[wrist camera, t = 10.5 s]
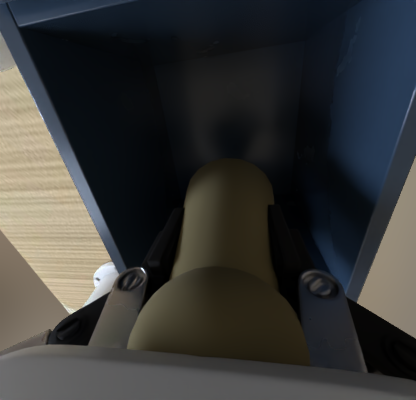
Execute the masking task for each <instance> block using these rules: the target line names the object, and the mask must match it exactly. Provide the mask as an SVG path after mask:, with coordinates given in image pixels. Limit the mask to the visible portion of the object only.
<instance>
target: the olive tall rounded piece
mask: <svg viewBox="0 0 416 400" xmlns="http://www.w3.org/2000/svg"><path fill="white" fill-rule="evenodd" d="M268 205H274V196H273V189H272V185H271V183H270V181H269V179H268V178H267V176H266V174H265V173H264V172H263V171H261V170H260V169H259V168H258V167H257V166H255V165H254V164H252V163H249V162H246V161H244V160H241V159H232V158H223V159H219V160H215V161H211V162H209V163H207V164H206V165H204V166H203V167H201V168H199V169H198V170H197V172H196V173H195V174H194V175H193V177H192V178H191V179H190V182H189V185H188V188H187V191H186V196H185V201H184V206H183V208H185V209H184V215H183V220H182V225H181V230H180V234H179V239H178V243H177V247H176V252H175V256H174V261H173V265H172V269H171V274H170V277H169V282H167V283H165V284H164V285H163V286H162V287H161V288H160V289H159V290H157V291H156V292H155V293H154V294H153V295H152V296H151V298H150V299H149V301H148V302H147V303H146V305H145V306H144V307H143V309H142V310H141V311H140V313H139V316H138V318H137V320H136V322H135V324H134V327H133V329H132V331H131V333H130V336H129V341H128V345H127V349H131V350H142V351H154V352H165V353H176V354H186V355H193V356H199V357H218V358H229V359H239V360H250V361H260V362H270V363H280V364H290V365H300V366H310V353H309V350H308V346H307V343H306V340H305V336H304V333H303V329H302V326H301V323H300V320H299V317H298V315H297V313H296V312H295V311H294V309H293V308H292V307H291V305H290V304H289V303H288V301H287V300H286V299H285V298H284V297H283V296H282V295H281V294H280V288H279V282H278V277H277V275H276V268H275V262H274V256H273V250H272V244H271V238H270V231H269V225H268Z"/></svg>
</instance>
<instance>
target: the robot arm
mask: <svg viewBox="0 0 416 400" xmlns="http://www.w3.org/2000/svg"><path fill="white" fill-rule="evenodd" d="M184 209H185V208H174V210H173V212H172V213H171V215H170V217H169V219H168V221H167V223H166V225H165V227H164V229H163V231H160V232H159V233H158V235H157V237H156V239H155V241H154V242H153V244H152V246H151V248H150V250H149V252H148V254H147V255H146V257H145V259H144V261H143V263H142V265H141V266H134V267H130V268H128V269H126V270H124V271H123V272H122V273H120V275H119V274H118V272H117V270H116V268H115V266H114V264H113V262H108V263H105V264H103V265H102V266H101V267H100V268H99V269H98V270H97V271H96V273H95V274H94V284H95V287H96V289H95V290H94V291H93V293H92V294H91V296H90V297H89V298H88V300H87V301H86V303H85V304H84V306H83V307H82V308H81V309H79V310H78V311H76V312H74V313H73V314H71V315H69V316H68V317H66V318H65V319H63V320H62V321H61V322H60V323H59V324H58V325H57V326H56V327H55V329H54V330H53V331H51V330H50V329H49V330H47V331H45V332H42V333H40V334H38V335H36V336H34V337H31V338H29V339H27V340H25V341H23V342H20V343H18V344H16V345H14V346H12V347H10V348H7V349H5V350H3V351H1V352H0V400H416V339H415V338H414V337H412V336H410V335H408V334H407V333H405V332H404V331H402V330H400V329H399V328H397V327H395V326H394V325H392V324H390V323H389V322H387V321H386V320H384V319H382V318H381V317H379V316H377V315H376V314H374V313H372V312H371V311H369V310H367V309H366V308H364V307H362V306H361V305H359V304H357V303H356V302H354V301H353V300H351V299H349V298H348V297H346V295H345V292H344V289H343V287H342V285H341V283H340V282H339V281H338V279H337V278H335V277H334V276H333V275H331V274H330V273H328V272H326V271H323V270H319V269H316V268H315V266H314V264H313V262H312V259H311V257H310V255H309V253H308V250H307V248H306V246H305V243H304V241H303V239H302V237H301V234H300V232H299V230H298V229H288V226H287V223H286V221H285V218H284V215H283V213H282V210H281V207H280V205H279V204H277V205H268V225H269V231H270V238H271V244H272V250H273V256H274V262H275V268H276V275H277V277H278V282H279V288H280V294H281V295H282V296H283V297H284V298H285V299H286V300H287V301H288V303H289V304H290V305H291V307H292V308H293V309H294V311H295V312H296V313H297V315H298V317H299V320H300V323H301V326H302V329H303V333H304V336H305V340H306V343H307V346H308V350H309V353H310V366H300V365H290V364H280V363H270V362H260V361H250V360H239V359H229V358H218V357H199V356H193V355H186V354H176V353H165V352H154V351H142V350H131V349H127V345H128V341H129V336H130V333H131V331H132V329H133V327H134V324H135V322H136V320H137V318H138V316H139V313H140V311H141V310H142V309H143V307H144V306H145V305H146V303H147V302H148V301H149V299H150V298H151V296H152V295H153V294H154V293H155V292H156V291H157V290H159V289H160V288H161V287H162V286H163V285H164V284H165V283H167V282H169V277H170V274H171V269H172V265H173V261H174V256H175V252H176V247H177V243H178V239H179V234H180V230H181V225H182V220H183V215H184Z"/></svg>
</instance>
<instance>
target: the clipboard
mask: <svg viewBox="0 0 416 400" xmlns="http://www.w3.org/2000/svg"><path fill="white" fill-rule="evenodd" d="M11 1H15V0H0V4H3V3H7V2H11Z"/></svg>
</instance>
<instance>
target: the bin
mask: <svg viewBox="0 0 416 400" xmlns="http://www.w3.org/2000/svg"><path fill="white" fill-rule="evenodd" d="M0 32H1V34H2V36H3V38H4V41H5V43H6V45H7V47H8V49H9V51H10V53H11V55H12V57H13V59H14V61H15V63H16V65H17V67H18V69H19V71H20V73H21V75H22V77H23V79H24V81H25V83H26V86H27V88H28V90H29V92H30V94H31V96H32V98H33V100H34V102H35V104H36V106H37V108H38V110H39V112H40V114H41V116H42V118H43V120H44V122H45V124H46V126H47V129H48V131H49V133H50V135H51V137H52V139H53V141H54V143H55V145H56V147H57V149H58V151H59V153H60V155H61V157H62V159H63V161H64V163H65V165H66V167H67V169H68V171H69V174H70V176H71V178H72V180H73V182H74V184H75V186H76V188H77V190H78V192H79V194H80V196H81V198H82V200H83V202H84V204H85V206H86V208H87V210H88V212H89V214H90V216H91V219H92V221H93V223H94V225H95V227H96V229H97V231H98V233H99V235H100V237H101V239H102V241H103V243H104V245H105V247H106V249H107V251H108V253H109V255H110V257H111V259H112V261H113V264H114V266H115V268H116V270H117V272H118V274H119V275H120V273H122V272H123V271H124V270H126V269H128V268H130V267H134V266H141V265H142V263H143V261H144V259H145V257H146V255H147V254H148V252H149V250H150V248H151V246H152V244H153V242H154V241H155V239H156V237H157V235H158V233H159V232H160V231H163V229H164V227H165V225H166V223H167V221H168V219H169V217H170V215H171V213H172V212H173V210H174V208H183V206H184V201H185V196H186V191H187V188H188V185H189V182H190V179H191V178H192V177H193V175H194V174H195V173H196V172H197V170H198V169H199V168H201V167H203V166H204V165H206V164H207V163H209V162H211V161H215V160H219V159H223V158H232V159H241V160H244V161H246V162H249V163H252V164H254V165H255V166H257V167H258V168H259V169H260V170H261V171H263V172H264V173H265V174H266V176H267V178H268V179H269V181H270V183H271V185H272V189H273V196H274V205H277V204H279V205H280V207H281V210H282V213H283V215H284V218H285V221H286V223H287V226H288V229H298V230H299V232H300V234H301V237H302V239H303V241H304V243H305V246H306V248H307V250H308V253H309V255H310V257H311V259H312V262H313V264H314V266H315V268H316V269H319V270H323V271H326V272H328V273H330V274H331V275H333V276H334V277H335V278H337V279H338V281H339V282H340V283H341V285H342V287H343V289H344V292H345V295H346V297H348V298H349V299H351V300H353V301H354V302H356V303H357V301H358V298H359V296H360V293H361V291H362V288H363V286H364V283H365V281H366V278H367V276H368V273H369V271H370V268H371V266H372V263H373V261H374V258H375V255H376V253H377V251H378V248H379V246H380V243H381V241H382V238H383V236H384V233H385V231H386V228H387V226H388V224H389V221H390V219H391V216H392V213H393V211H394V208H395V206H396V204H397V201H398V199H399V196H400V194H401V191H402V189H403V186H404V184H405V181H406V178H407V176H408V174H409V171H410V169H411V166H412V164H413V161H414V158H415V156H416V0H15V1H11V2H7V3H3V4H0Z"/></svg>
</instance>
